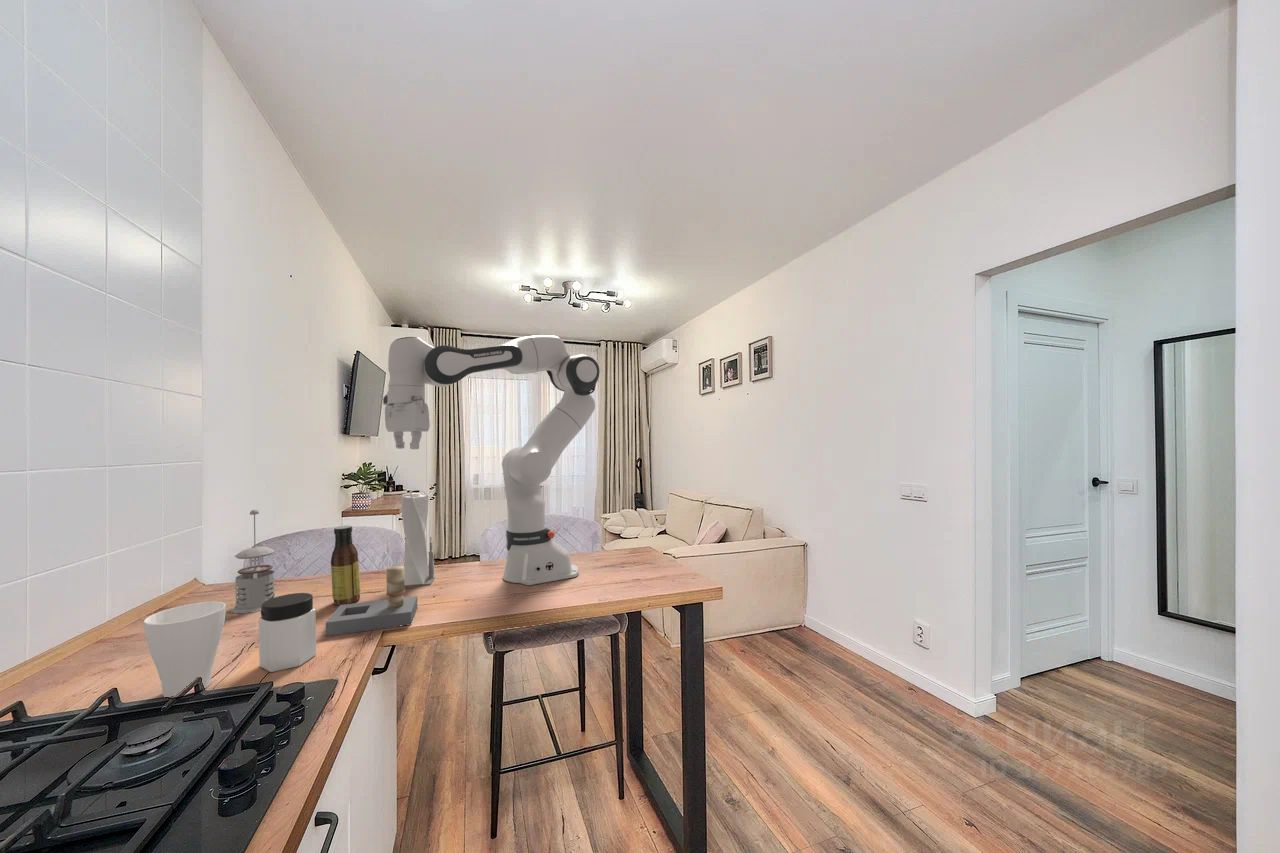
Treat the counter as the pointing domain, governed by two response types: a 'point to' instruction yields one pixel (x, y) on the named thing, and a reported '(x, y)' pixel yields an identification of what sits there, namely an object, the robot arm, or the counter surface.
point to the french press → (254, 579)
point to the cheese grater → (416, 540)
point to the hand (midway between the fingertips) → (407, 448)
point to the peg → (395, 586)
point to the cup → (185, 643)
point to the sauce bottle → (345, 568)
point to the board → (370, 616)
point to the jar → (287, 631)
